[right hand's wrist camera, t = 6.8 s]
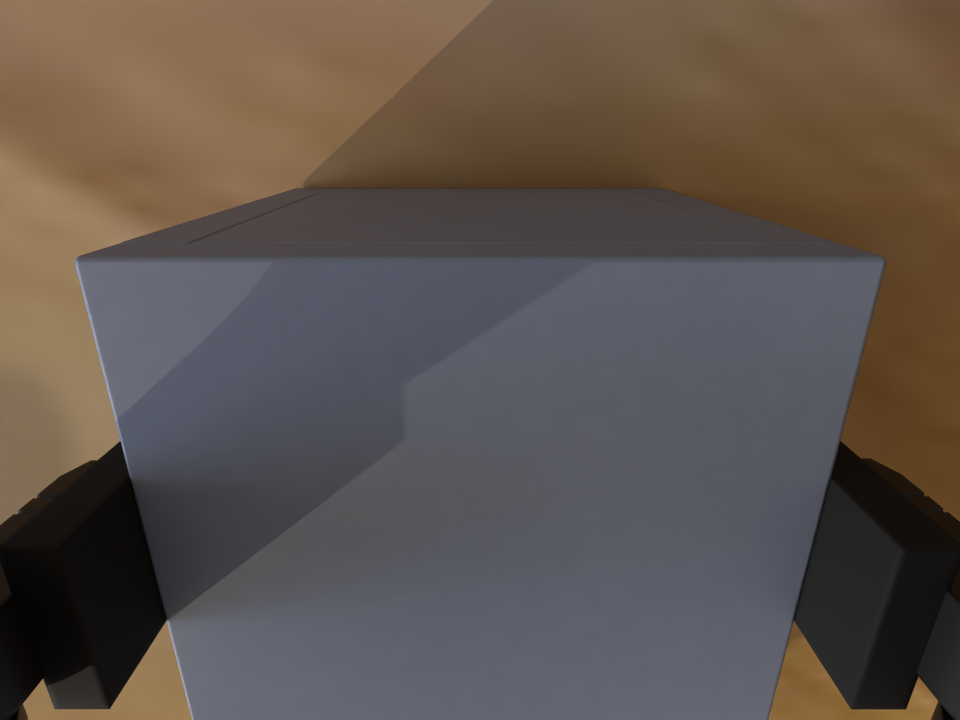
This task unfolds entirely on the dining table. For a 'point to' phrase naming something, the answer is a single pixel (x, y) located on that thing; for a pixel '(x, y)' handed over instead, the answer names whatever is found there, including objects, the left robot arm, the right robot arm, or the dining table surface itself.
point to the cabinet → (480, 447)
